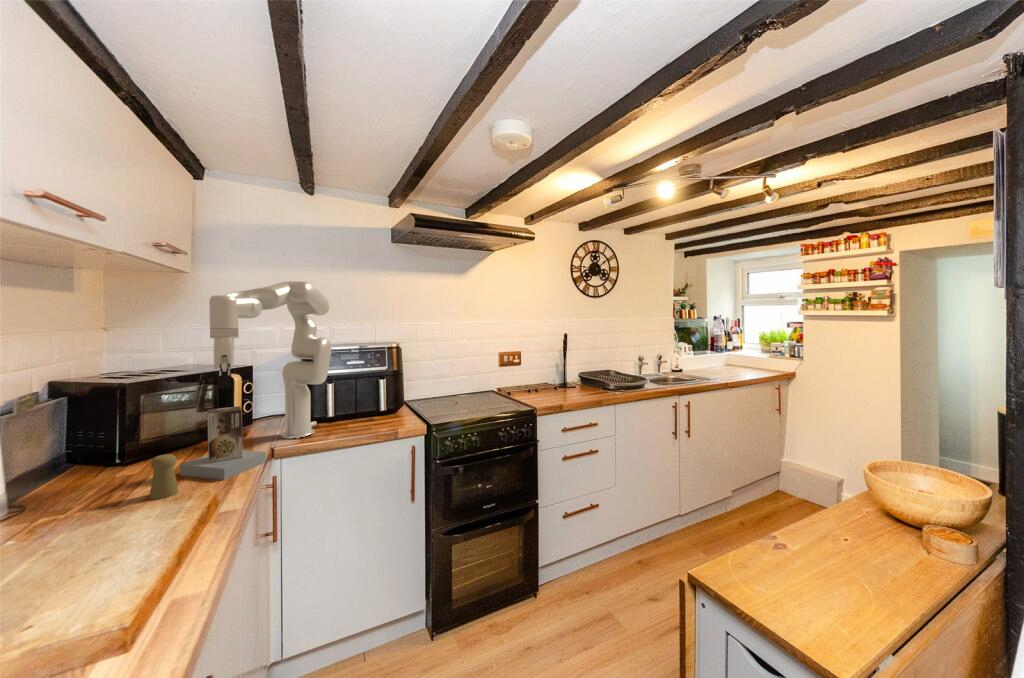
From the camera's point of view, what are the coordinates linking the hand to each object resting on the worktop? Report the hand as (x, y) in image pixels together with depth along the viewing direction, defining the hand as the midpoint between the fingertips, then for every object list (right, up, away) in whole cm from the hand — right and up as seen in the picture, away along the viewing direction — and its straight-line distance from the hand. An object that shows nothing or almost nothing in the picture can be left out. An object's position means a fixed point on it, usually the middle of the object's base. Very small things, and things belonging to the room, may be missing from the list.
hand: (225, 385), depth 128 cm
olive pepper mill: (-3, -28, -19) cm, 34 cm away
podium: (-1, -27, +1) cm, 27 cm away
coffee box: (-1, -24, +1) cm, 24 cm away
